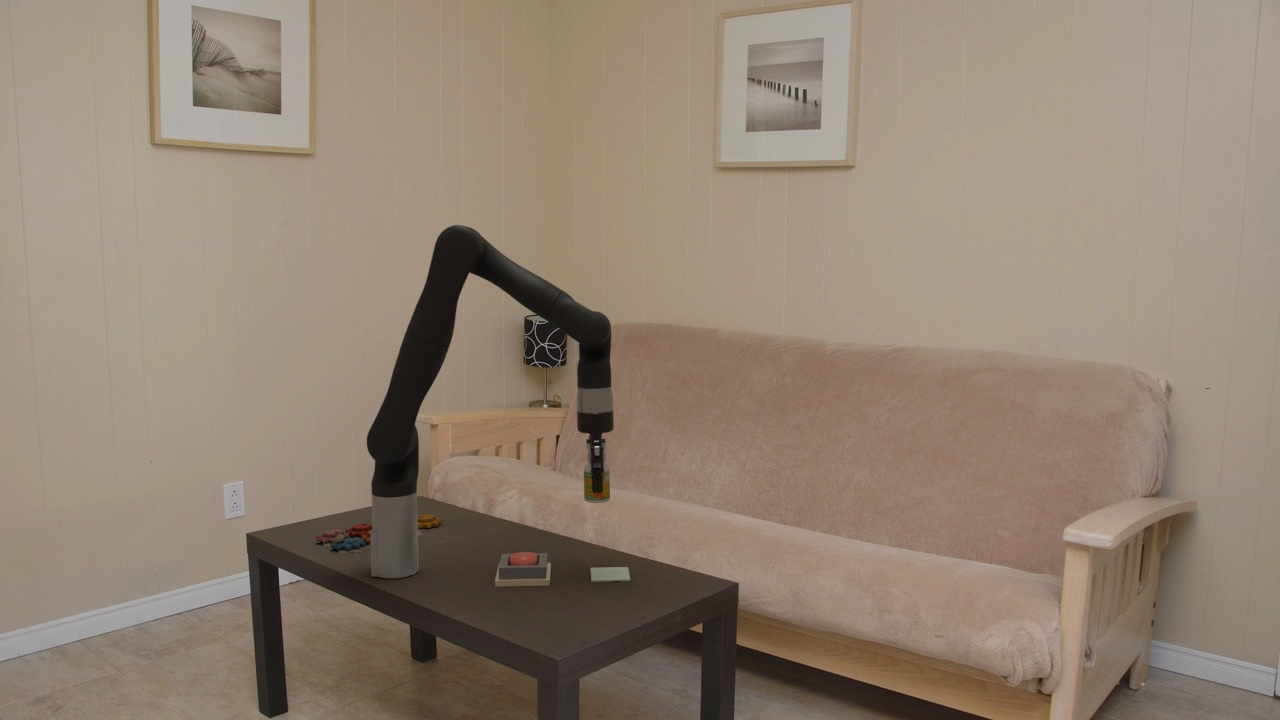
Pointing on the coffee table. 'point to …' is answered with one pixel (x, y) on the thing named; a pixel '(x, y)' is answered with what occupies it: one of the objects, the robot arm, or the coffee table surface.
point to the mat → (610, 574)
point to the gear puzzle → (364, 535)
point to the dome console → (523, 572)
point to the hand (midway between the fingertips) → (597, 488)
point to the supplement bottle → (588, 493)
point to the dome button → (523, 558)
